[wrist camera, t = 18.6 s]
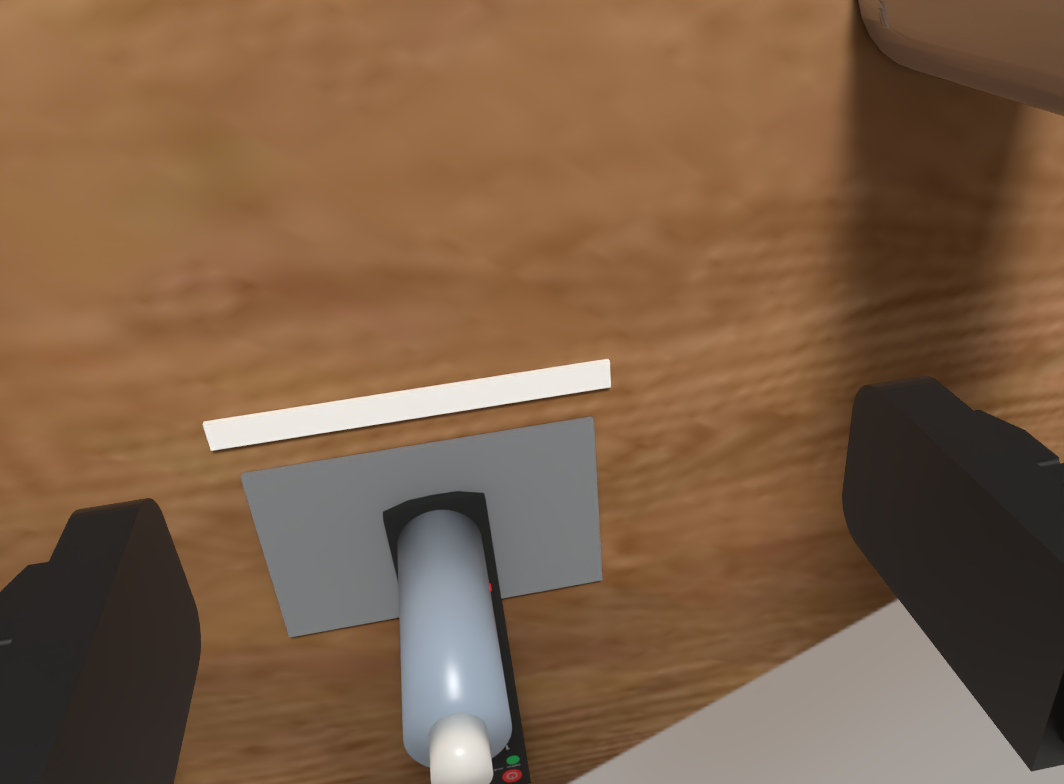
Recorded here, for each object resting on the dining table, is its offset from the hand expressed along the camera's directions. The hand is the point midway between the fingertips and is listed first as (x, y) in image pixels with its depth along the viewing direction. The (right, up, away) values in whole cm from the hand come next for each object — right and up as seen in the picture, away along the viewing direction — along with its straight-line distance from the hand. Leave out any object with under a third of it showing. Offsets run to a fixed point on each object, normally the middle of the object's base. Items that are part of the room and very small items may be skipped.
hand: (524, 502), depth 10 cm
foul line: (-6, +1, +33) cm, 34 cm away
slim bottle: (-5, -7, +35) cm, 36 cm away
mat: (-5, -6, +37) cm, 38 cm away
